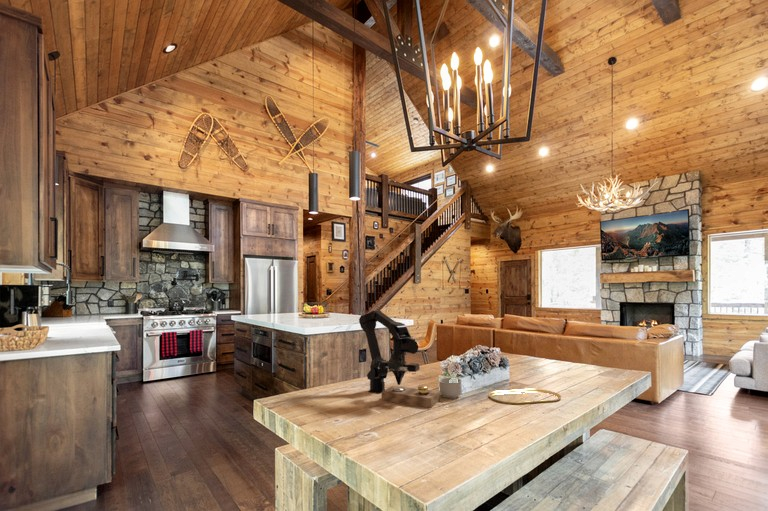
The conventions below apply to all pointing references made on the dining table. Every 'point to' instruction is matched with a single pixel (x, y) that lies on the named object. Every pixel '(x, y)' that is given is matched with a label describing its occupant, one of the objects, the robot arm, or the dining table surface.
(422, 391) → the brass plug
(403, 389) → the grey plug
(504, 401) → the gold ring
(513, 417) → the dining table surface
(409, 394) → the walnut block
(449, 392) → the teacup
